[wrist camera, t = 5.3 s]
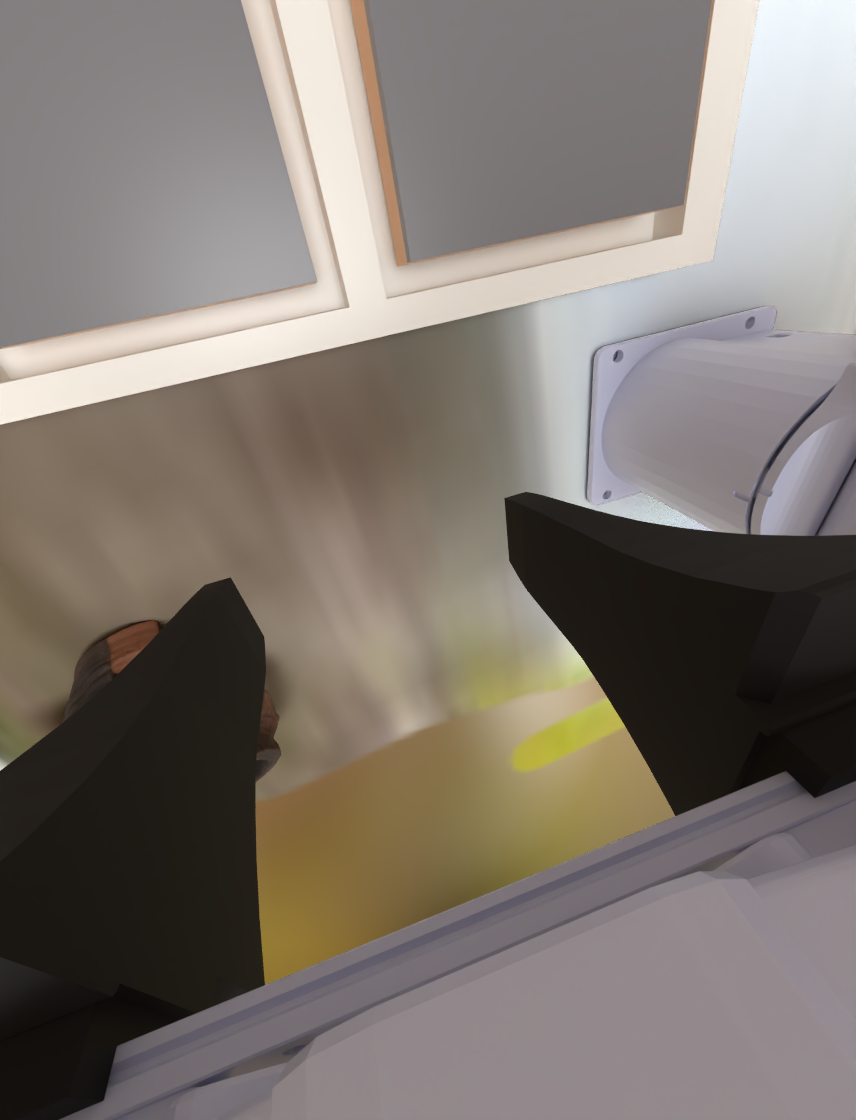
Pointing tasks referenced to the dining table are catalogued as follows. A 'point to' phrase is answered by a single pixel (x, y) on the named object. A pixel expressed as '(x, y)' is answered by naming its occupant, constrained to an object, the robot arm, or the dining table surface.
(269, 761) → the brown grey irregular piece
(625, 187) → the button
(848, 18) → the dining table surface
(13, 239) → the middle button
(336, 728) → the dining table surface
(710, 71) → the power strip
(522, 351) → the dining table surface
